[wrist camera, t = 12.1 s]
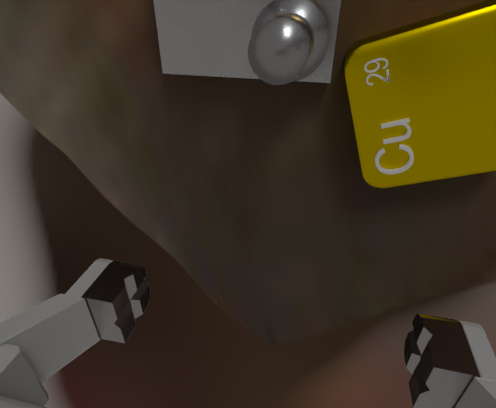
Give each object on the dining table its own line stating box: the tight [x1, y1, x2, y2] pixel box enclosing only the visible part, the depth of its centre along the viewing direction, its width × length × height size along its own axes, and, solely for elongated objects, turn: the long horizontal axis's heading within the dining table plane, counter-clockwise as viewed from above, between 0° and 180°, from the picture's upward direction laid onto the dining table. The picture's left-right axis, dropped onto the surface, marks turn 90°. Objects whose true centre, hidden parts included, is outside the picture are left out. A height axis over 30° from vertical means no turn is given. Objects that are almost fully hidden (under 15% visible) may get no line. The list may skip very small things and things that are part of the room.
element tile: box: [344, 0, 496, 188], centre depth 33 cm, size 15×15×5 cm
